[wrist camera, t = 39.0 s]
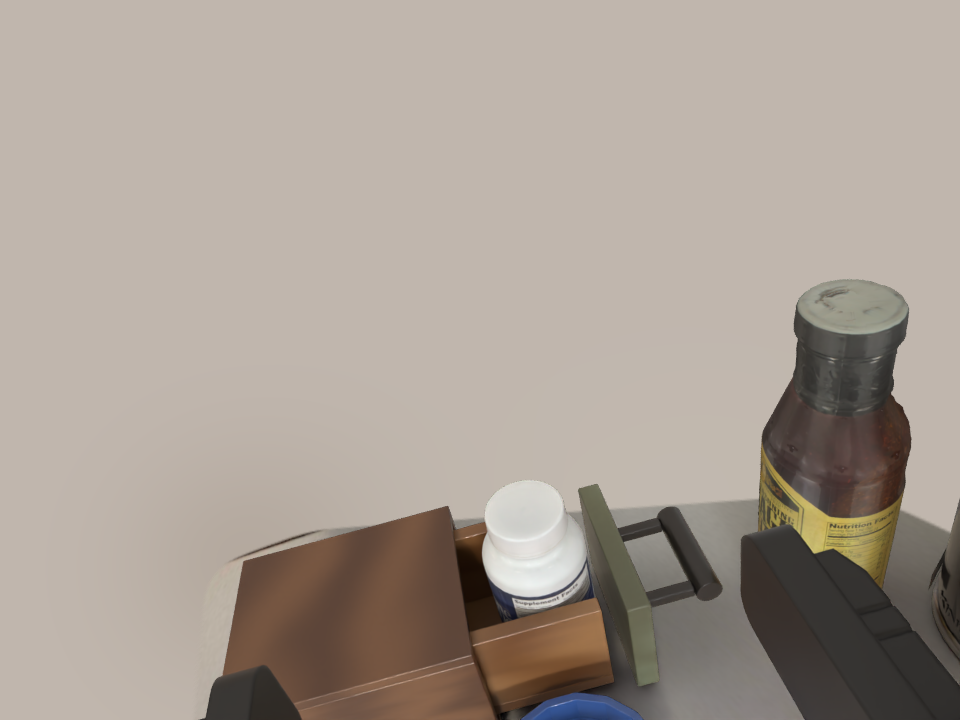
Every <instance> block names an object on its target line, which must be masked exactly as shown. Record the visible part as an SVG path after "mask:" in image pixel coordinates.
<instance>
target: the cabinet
mask: <svg viewBox="0 0 960 720" xmlns="http://www.w3.org/2000/svg"><path fill="white" fill-rule="evenodd" d="M453 530H456V527H455V524H454V521H453V518H452V516H451V512H450V510H449V507H448V506H445V507H442V508H438V509H434V510H431V511H427V512H423V513H420V514H416V515H412V516H409V517H405V518H401V519H397V520H394V521H390V522H386V523H383V524H379V525H375V526H372V527H368V528H364V529H360V530H357V531H353V532H349V533H346V534H342V535H338V536H335V537H331V538H327V539H324V540H320V541H316V542H312V543H309V544H305V545H301V546H298V547H294V548H290V549H287V550H283V551H279V552H275V553H272V554H268V555H264V556H261V557H257V558H253V559H250V560H246V561H244V562H243V567H242V572H241V577H240V583H239V588H238V594H237V599H236V605H235V610H234V616H233V621H232V627H231V632H230V638H229V643H228V649H227V654H226V660H225V665H224V670H223V676H224V675H228V674H232V673H235V672H239V671H243V670H246V669H250V668H254V667H257V666H261V665H266V666H267V667H268V668H269V669H270V670H271V672H272V673H273V674H274V676H275V677H276V679H277V680H278V682H279V683H280V685H281V686H282V688H283V689H284V691H285V692H286V694H287V695H288V697H289V698H290V700H291V701H292V702H293V704H294V705H295V707H296V708H297V710H298V712H299V714H300V716H301V719H302V720H501V715H500V714H496V712H495V709H494V706H493V704H492V701H491V698H490V695H489V693H488V690H487V687H486V685H485V682H484V679H483V677H482V674H481V671H480V669H479V666H478V663H477V661H476V658H475V655H474V653H473V648H472V642H471V635H470V629H469V623H468V617H467V611H466V605H465V599H464V592H463V586H462V580H461V574H460V568H459V562H458V556H457V549H456V543H455V537H454V531H453Z"/></svg>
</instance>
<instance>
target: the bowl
mask: <svg viewBox="0 0 960 720" xmlns="http://www.w3.org/2000/svg"><path fill="white" fill-rule="evenodd" d="M520 720H644V719H643V718H642V717H641V716H640V715H639V713H638V712H636V711H635V710H633V709H631V708H629V707H627V706H625V705H623V704H622V703H620V702H618V701H616V700H614V699H612V698H610V697H608V696H604V695H595V694H587V693H578V692H576V693H571V694H567V695H564V696H560V697H556V698H553V699H549V700H546V701H544V702H543V703H541V704H540V705H539V706H537V707H536V708H535V709H533V710H532V711H531V712H530V713H528V714H527V715H526V716H524V717H523V718H522V719H520Z"/></svg>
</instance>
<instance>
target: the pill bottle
mask: <svg viewBox="0 0 960 720" xmlns="http://www.w3.org/2000/svg"><path fill="white" fill-rule="evenodd" d="M484 517H485V523H486V527H487V531H488V532H487V534H486V536H485V539H484V542H483V547H482V559H483V564H484V568H485V572H486V574H487V577H488V581H489V584H490V587H491V590H492V593H493V596H494V599H495V602H496V605H497V608H498V612H499V615H500V618H501V621H502V623H504V622H508V621H511V620H515V619H519V618H522V617H526V616H529V615H533V614H537V613H540V612H544V611H548V610H551V609H555V608H559V607H562V606H566V605H570V604H573V603H577V602H581V601H584V600H588V599H592V598H595V592H594V587H593V581H592V576H591V571H590V566H589V560H588V554H587V548H586V543H585V538H584V535H583V532H582V530H581V528H580V526H579V525H578V523H577V522H576V521H575V520H574V519H573V518H572V517H571V516H570V515H569V514H567V512H566V509H565V506H564V501H563V499H562V497H561V495H560V493H559V492H558V491H557V490H556V489H555V488H554V487H552V486H551V485H549V484H547V483H544V482H541V481H535V480H523V481H518V482H514V483H511V484H509V485H507V486H504V487H503V488H501V489H499V490H498V491H497V492H496V493H495V494H494V495H493V496H492V497H491V498H490V500H489V501H488V503H487V505H486V508H485V513H484Z"/></svg>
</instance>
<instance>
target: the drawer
mask: <svg viewBox="0 0 960 720" xmlns="http://www.w3.org/2000/svg"><path fill="white" fill-rule="evenodd" d="M578 492H579V497H580V503H581V508H582V514H583V519H584V525H585V530H586V536H587V541H588V547H589V552H590V558H591V563H592V565H593V568H594V571H595V573H596V576H597V579H598V581H599V584H600V587H601V589H602V592H603V595H604V597H605V600H606V603H607V605H608V608H609V611H610V613H611V616H612V619H613V621H614V624H615V627H616V629H617V632H618V635H619V637H620V640H621V643H622V645H623V648H624V651H625V653H626V656H627V659H628V661H629V664H630V667H631V669H632V672H633V675H634V677H635V680H636V683H637V685H638V686H643V685H647V684H650V683H654V682H658V681H659V671H658V663H657V654H656V645H655V636H654V628H653V619H652V610H651V608H652V607H655V606H659V605H663V604H666V603H670V602H674V601H677V600H681V599H685V598H688V597H692V596H694V595H695V594H696V596H697V598H698V599H699V600H702V601H709V600H712V599H714V598H716V597H718V596H719V595H720V594H721V592H722V589H723V588H722V585H721V583H720V581H719V579H718V578H717V576H716V574H715V572H714V571H713V569H712V567H711V565H710V563H709V562H708V560H707V558H706V556H705V555H704V553H703V551H702V549H701V548H700V546H699V544H698V542H697V540H696V539H695V537H694V535H693V533H692V532H691V530H690V528H689V526H688V524H687V523H686V521H685V519H684V517H683V516H682V514H681V512H680V510H679V509H678V508H676V507H666V508H664V509H662V510H661V511H660V512H659V513H658V515H657V518H654V519H651V520H647V521H643V522H640V523H636V524H632V525H629V526H625V527H621V528H618V529H617V527H616V524H615V522H614V520H613V518H612V515H611V513H610V511H609V508H608V506H607V504H606V502H605V500H604V498H603V495H602V493H601V490H600V488H599V486H598V484H594V485H591V486H587V487H584V488H580V489H579V490H578ZM662 530H663V532H664V534H665V536H666V538H667V540H668V542H669V544H670V546H671V548H672V550H673V552H674V554H675V556H676V558H677V560H678V562H679V563H680V565H681V567H682V569H683V571H684V573H685V575H686V577H687V579H688V581H686V582H682V583H678V584H675V585H671V586H667V587H664V588H660V589H656V590H653V591H649V592H645V590H644V588H643V586H642V583H641V581H640V579H639V576H638V574H637V572H636V570H635V567H634V565H633V563H632V561H631V558H630V556H629V554H628V552H627V549H626V547H625V545H624V542H625V541H629V540H633V539H636V538H640V537H644V536H647V535H651V534H655V533H658V532H661V531H662ZM453 531H454V537H455V543H456V549H457V556H458V562H459V568H460V574H461V580H462V586H463V592H464V599H465V605H466V611H467V617H468V623H469V629H470V635H471V642H472V648H473V653H474V655H475V658H476V661H477V663H478V666H479V669H480V671H481V674H482V677H483V679H484V682H485V685H486V687H487V690H488V693H489V695H490V698H491V701H492V704H493V706H494V709H495V712H496V714H500V713H503V712H507V711H510V710H514V709H518V708H521V707H525V706H529V705H532V704H536V703H539V702H543V701H546V700H549V699H553V698H556V697H560V696H564V695H567V694H571V693H576V692H579V691H583V690H587V689H590V688H594V687H598V686H601V685H605V684H608V683H612V682H614V677H613V672H612V666H611V661H610V655H609V650H608V644H607V639H606V633H605V628H604V622H603V617H602V611H601V608H600V605H599V602H598V599H597V598H596V597H595V598H592V599H588V600H584V601H581V602H577V603H573V604H570V605H566V606H562V607H559V608H555V609H551V610H548V611H544V612H540V613H537V614H533V615H529V616H526V617H522V618H519V619H515V620H511V621H508V622H504V623H502V621H501V618H500V615H499V612H498V608H497V605H496V602H495V599H494V596H493V593H492V590H491V587H490V584H489V581H488V577H487V574H486V572H485V568H484V564H483V559H482V547H483V542H484V539H485V536H486V534H487V532H488V531H487V527H486V523H485V522H483V523H479V524H475V525H472V526H468V527H464V528H461V529H457V530H453Z"/></svg>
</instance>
